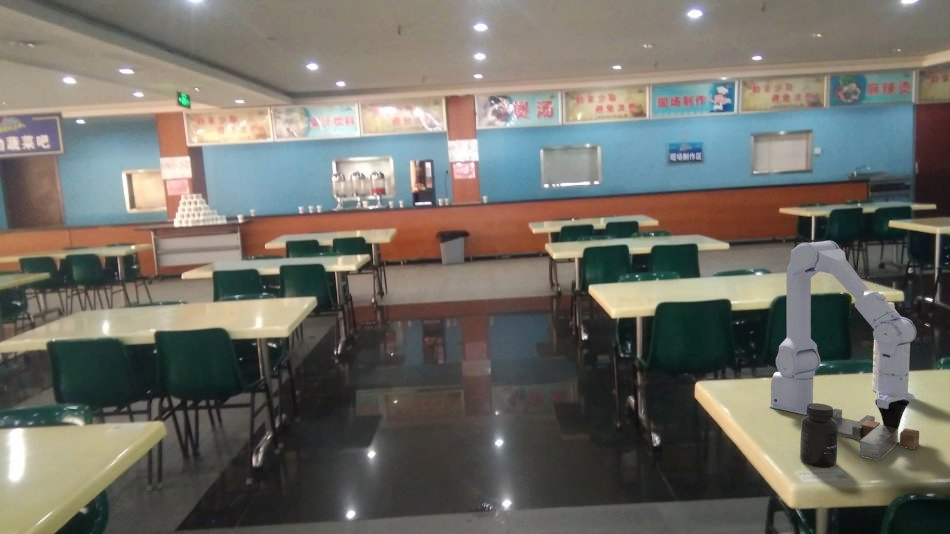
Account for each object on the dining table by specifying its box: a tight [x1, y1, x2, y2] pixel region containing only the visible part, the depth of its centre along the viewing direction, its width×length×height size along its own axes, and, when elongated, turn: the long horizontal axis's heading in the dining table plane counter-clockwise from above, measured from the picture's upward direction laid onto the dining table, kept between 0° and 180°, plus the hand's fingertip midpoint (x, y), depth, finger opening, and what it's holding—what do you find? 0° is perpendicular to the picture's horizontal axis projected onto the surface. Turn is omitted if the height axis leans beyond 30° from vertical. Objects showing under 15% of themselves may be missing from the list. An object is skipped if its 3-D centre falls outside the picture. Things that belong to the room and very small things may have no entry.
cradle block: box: [832, 408, 876, 441], centre depth 149 cm, size 9×10×3 cm
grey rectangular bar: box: [859, 424, 899, 461], centre depth 138 cm, size 4×13×4 cm, turn 132°
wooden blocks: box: [861, 420, 920, 450], centre depth 142 cm, size 10×4×3 cm, turn 42°
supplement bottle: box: [799, 402, 839, 469], centre depth 132 cm, size 7×7×12 cm
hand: (891, 431), depth 143 cm, fingers closed
